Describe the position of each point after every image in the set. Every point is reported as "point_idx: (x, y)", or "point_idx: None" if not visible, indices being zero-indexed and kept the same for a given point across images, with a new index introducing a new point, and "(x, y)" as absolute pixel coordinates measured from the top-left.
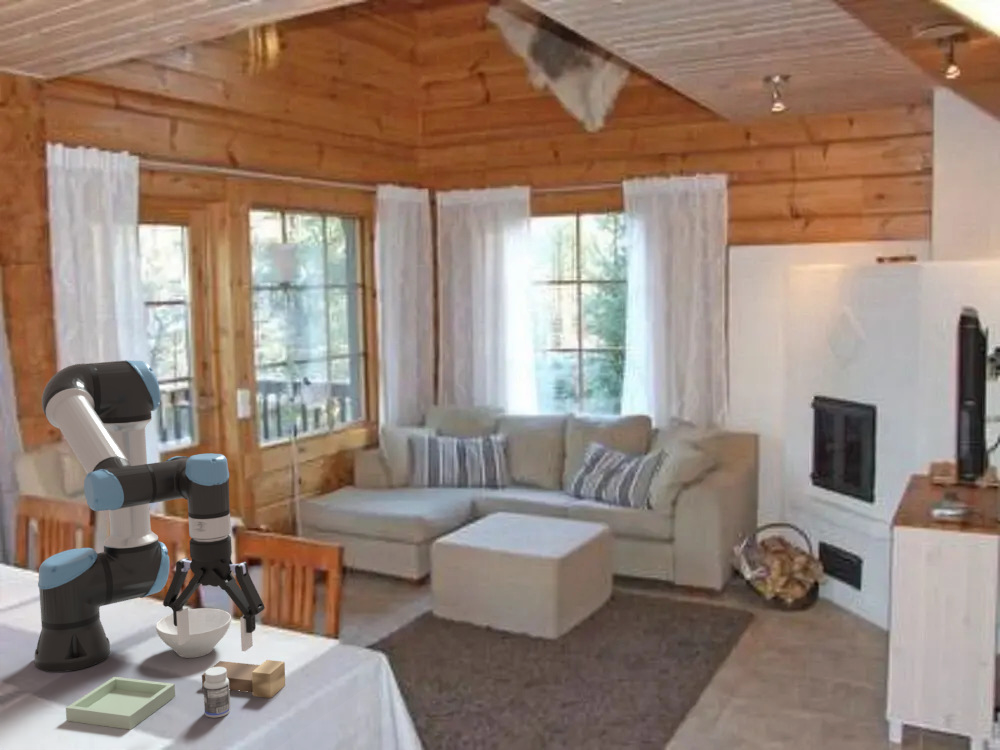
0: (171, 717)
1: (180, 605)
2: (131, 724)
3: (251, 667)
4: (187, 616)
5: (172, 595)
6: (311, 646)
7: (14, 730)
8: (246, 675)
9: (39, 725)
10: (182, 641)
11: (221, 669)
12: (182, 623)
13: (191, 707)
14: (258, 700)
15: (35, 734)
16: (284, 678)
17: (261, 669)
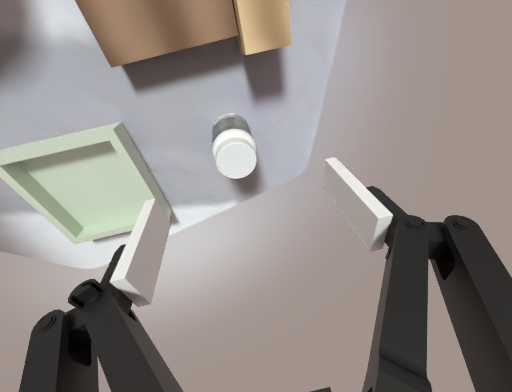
0: (185, 170)
1: (136, 320)
2: (170, 212)
3: None
4: (137, 253)
5: (96, 378)
6: None
7: (65, 262)
8: (200, 18)
9: (72, 247)
10: (167, 225)
11: (241, 151)
12: (155, 260)
13: (182, 137)
14: (261, 63)
15: (95, 256)
16: None
17: (257, 30)
